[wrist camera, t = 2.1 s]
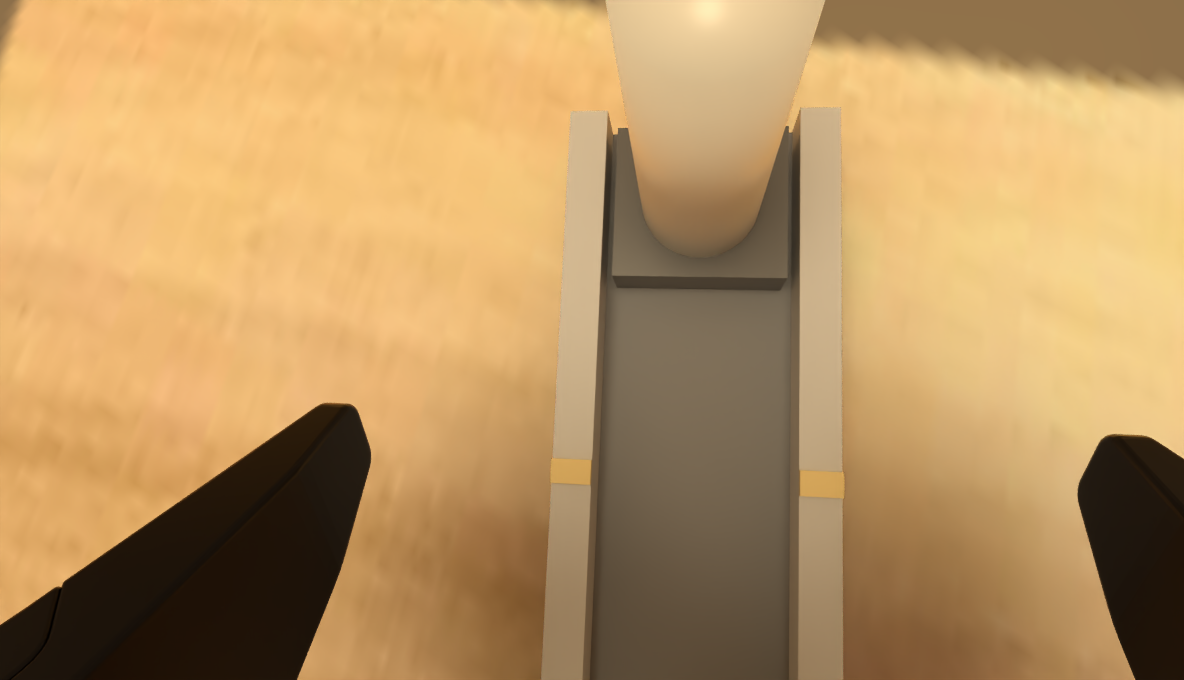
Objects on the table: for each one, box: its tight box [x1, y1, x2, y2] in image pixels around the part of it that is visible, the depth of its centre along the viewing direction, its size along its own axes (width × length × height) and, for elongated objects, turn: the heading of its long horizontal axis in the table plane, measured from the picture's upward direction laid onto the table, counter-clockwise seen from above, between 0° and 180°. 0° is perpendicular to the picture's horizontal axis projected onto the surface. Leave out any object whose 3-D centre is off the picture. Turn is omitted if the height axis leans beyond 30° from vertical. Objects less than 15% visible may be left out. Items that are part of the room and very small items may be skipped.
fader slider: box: [606, 0, 825, 290], centre depth 15 cm, size 4×4×10 cm
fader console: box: [541, 107, 844, 680], centre depth 19 cm, size 20×7×4 cm, turn 177°
